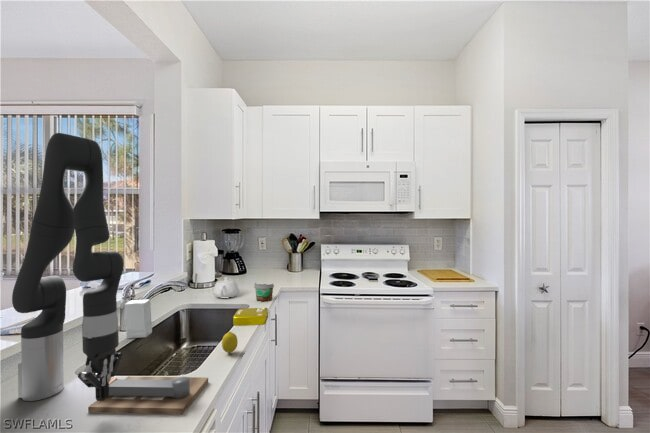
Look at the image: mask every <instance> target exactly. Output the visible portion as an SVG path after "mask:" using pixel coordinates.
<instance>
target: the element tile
mask: <svg viewBox="0 0 650 433" xmlns="http://www.w3.org/2000/svg"><path fill="white" fill-rule="evenodd" d="M232 319H233V321H232V322H233V323H232V325H233V326H236V327H238V326H241V327H242V326H243V327H244V326H245V327H246V326H263V325H266V324H267V322H268V319H269V308H268V307H248V308H247V307H246V308H245V307H244V308H238V309H237V311H236V312H235V314H234V315H233V316H232Z"/></svg>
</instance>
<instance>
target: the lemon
mask: <svg viewBox="0 0 650 433" xmlns="http://www.w3.org/2000/svg"><path fill="white" fill-rule="evenodd" d="M238 342H239V341H238V337H237V335H236V334H235V333H234V332H233V331H232V332H231V331H228V332H227V333H225V334H224V335H223V337H222V340H221V348H222V350H223V351H224V352H225V353H228V354H232V353H233V352H235V351H236V349H237V347H238Z"/></svg>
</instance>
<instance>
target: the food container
mask: <svg viewBox="0 0 650 433" xmlns="http://www.w3.org/2000/svg"><path fill="white" fill-rule="evenodd" d="M274 287H275V285H274V283H271V284H267V283H263V284H258V283H257V282H255V283H254V286H253V288H254V289H255V300H256V301H257V302H258V301H261V302H260V303H265V302H267V303H268V302H271V301H273V292H274Z"/></svg>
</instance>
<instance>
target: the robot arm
mask: <svg viewBox="0 0 650 433" xmlns="http://www.w3.org/2000/svg"><path fill="white" fill-rule="evenodd" d="M103 162H104V161H103V152H102V148H101V146H100V144H99V143H98V142H97V141H95V140H93V139H90V138H87V137H81V136H77V135H72V134H68V133H64V132H63V133H62V132H56V133H53V134H52V135H51V136H50V137H49V140H48V142H47V146H46V149H45V155H44V162H43V171H42V172H43V173H42V178H41V186H40V189H39V190H40V192H39V195H38V200H37V204H36V208H35V211H34V214H33V217H32V218H33V219H32V223H31V228H30V232H29V238H28V241H27V247H26V250H25V254H24V258H23V261H22V264H21V266H20V269H19V272H18V275H17V277H16V281H15V284H14V286H13V290H12V294H11V295H12V296H11V302H12V307H13V309H14V310H15V311H16V312H17V313H19V314H29V313H34V312H38V311H41V312H40V313H39V314H38V315H37V316H36V317H35V318H33V319H31V320H30V321H28V322H27V323H25V324H24V325H23V326H22V327H21V328H20V346H21V347H20V348H21V349H20V350H21V351H20V354H21V355H20V356H21V357H20V358H21V361H20V362H19V363H18V364H17V387H18V388H17V391H18V393H17V394H18V396H17V397H18V399H20V398H21V399H22V400H23V401H26V402H33V401H39V400H45V399H47V398H50V397H52V396H55V395H57V394H59V393H60V392H61V391H63V389H64V388H65V377H64V376H65V373H64V372H65V371H64V370H65V367H64V365H65V362H64V358H65V357H64V323H65V321H66V304H67V286H66V283H65V281H64V279H63V278H62V277H60V276H59V275H47V276H43V275H44V273H45V271H46V269H47V268H48V266H49V265H50V264H51V263H52V262H53V261H54V259H56V258H57V257H58V255H60V254H61V253H62V252H63V251H64V250H65V249H66V248H67V246H69V244H70V243H71V241H72V239H73V237H74V232H75V238H76V241H75V253H74V258H73V264H72V272H73V276H74V277H75V278H76V279H77V280H78V281H79V282H80V281H81V282H83V283H84V282H85V283H87V282H94V281H99V280H100V281H101V280H102V281H101V283H100V285H98V286H97V287H96V288H93V289H90V290H88V291H86V292H84V294H83V296H82V315H83V316H82V323H81V324H82V325H81V331H82V332H81V333H82V352H83V354H85V355H86V360H85V366H86V367H85V368H84V370H83V371H81V372H79V373H78V374H77V378H78V380H80V381H81V382H82V383H83V384H84V385H85V386H87V388H94V389H95V394H94V395H95V401H104V400H105V399H106V398H108V397H109V382H110V380H111V378H115V376H116V373H117V371H118V367H119V366H120V362H121V360H122V356H123V353H122V352H117V351H116V350H117V349H116V348H118V347H119V344H120V343H119V317H118V316H119V315H118V311H117V310H118V309H117V308H118V307H117V294H118V290H119V286H120V281H121V279H122V275H123V271H124V267H125V265H124V264H125V263H124V258H123V256H122V254H121V253H119V252H118V251H116V250H105V251H104V250H103V251H95V252H94V251H92V248H93V247H94V246H97V245H102V244H104V243H106V242H108V241H109V239H110V230H109V226H108V225H109V224H108V220H107V217H106V216H107V215H106V210H105V203H104V202H105V201H104V200H105V199H104V166H103V165H104V164H103ZM66 170H67V171H73V172H74V171H75V172H82V173H83V174H84V178H85V179H84V180H85V185H84V187H83V190H82V192H81V193H80V196H79V197H78V198H77V201H76V203H75V204H74V206H73V204H72V202H71V200H70V198H69V196H68V194H67V192H66V189H65V173H66Z"/></svg>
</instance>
